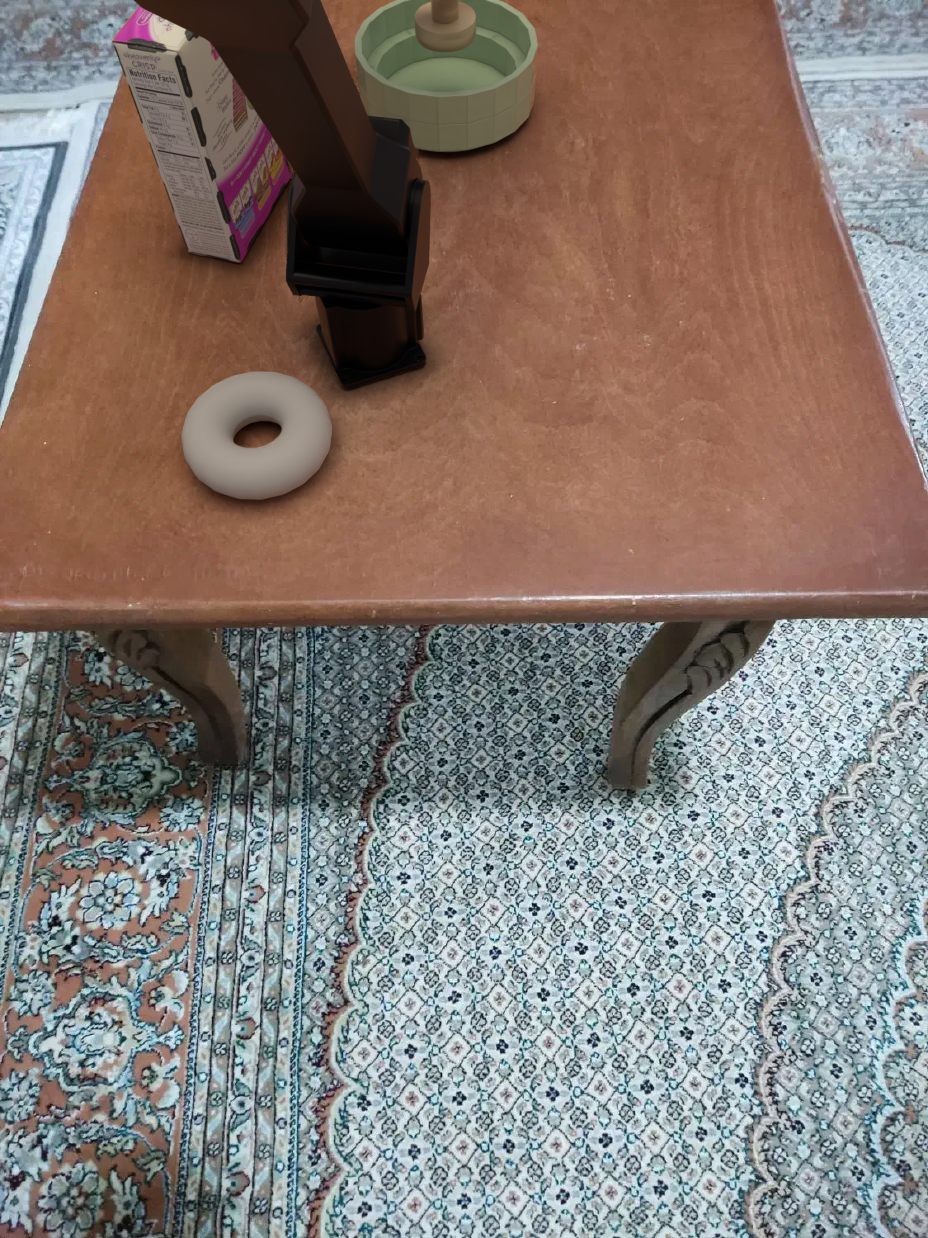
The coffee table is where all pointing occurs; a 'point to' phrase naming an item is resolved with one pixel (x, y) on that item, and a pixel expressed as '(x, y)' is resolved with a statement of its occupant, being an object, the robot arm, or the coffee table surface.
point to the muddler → (445, 25)
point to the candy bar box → (201, 136)
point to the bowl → (449, 76)
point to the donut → (266, 465)
